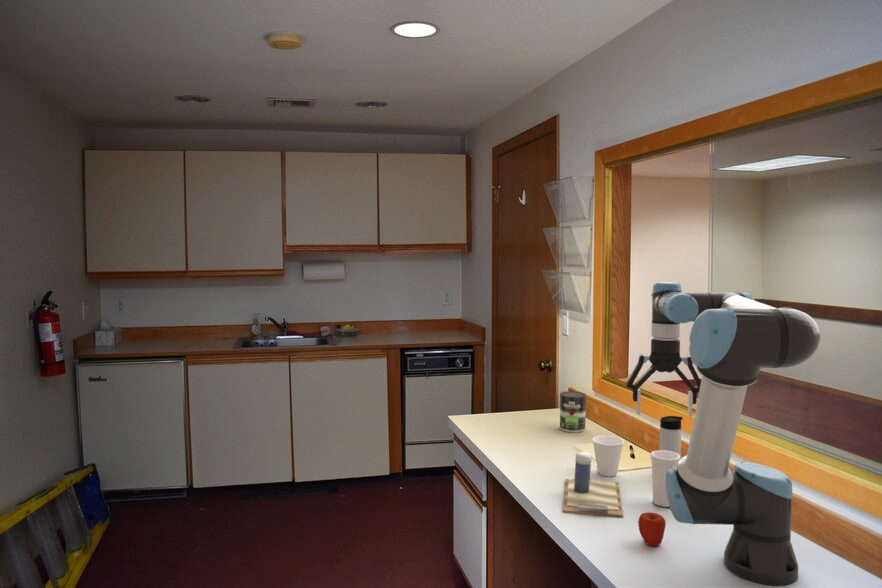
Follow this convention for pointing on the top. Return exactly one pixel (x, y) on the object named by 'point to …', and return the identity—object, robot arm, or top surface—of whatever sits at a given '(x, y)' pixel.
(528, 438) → the top surface
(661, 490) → the cup
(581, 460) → the blue bottle
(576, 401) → the coffee can
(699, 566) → the top surface
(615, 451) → the cup
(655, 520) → the apple
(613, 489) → the clipboard
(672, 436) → the travel mug
